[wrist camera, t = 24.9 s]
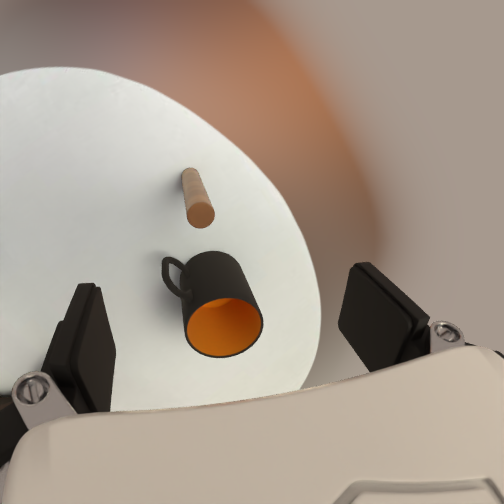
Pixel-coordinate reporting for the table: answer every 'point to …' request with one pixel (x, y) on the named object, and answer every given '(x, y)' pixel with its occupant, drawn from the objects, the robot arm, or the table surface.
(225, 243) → the table surface
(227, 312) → the mug
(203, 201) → the stick
